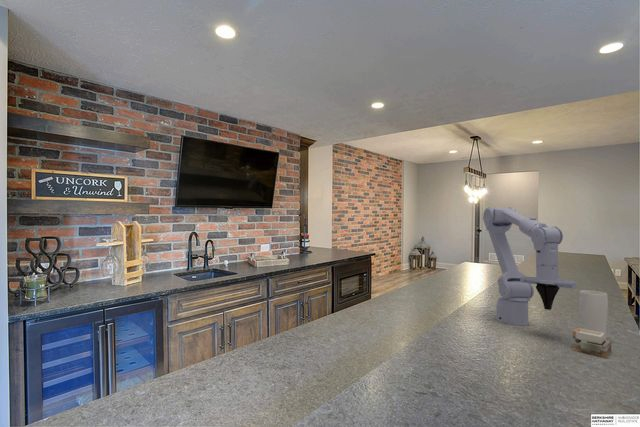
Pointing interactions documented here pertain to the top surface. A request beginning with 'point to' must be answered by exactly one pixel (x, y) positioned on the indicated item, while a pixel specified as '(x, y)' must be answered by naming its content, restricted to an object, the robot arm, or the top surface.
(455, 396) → the top surface
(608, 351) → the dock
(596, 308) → the drinking glass
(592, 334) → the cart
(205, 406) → the top surface
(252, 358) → the top surface
